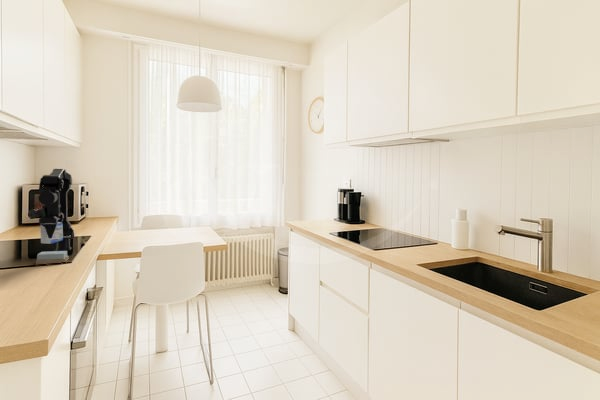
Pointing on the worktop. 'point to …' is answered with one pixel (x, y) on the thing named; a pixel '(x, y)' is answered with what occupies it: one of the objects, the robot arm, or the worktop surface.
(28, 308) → the worktop surface
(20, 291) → the worktop surface
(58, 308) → the worktop surface
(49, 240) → the medicine box
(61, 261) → the tower base
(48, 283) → the worktop surface
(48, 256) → the tower top
